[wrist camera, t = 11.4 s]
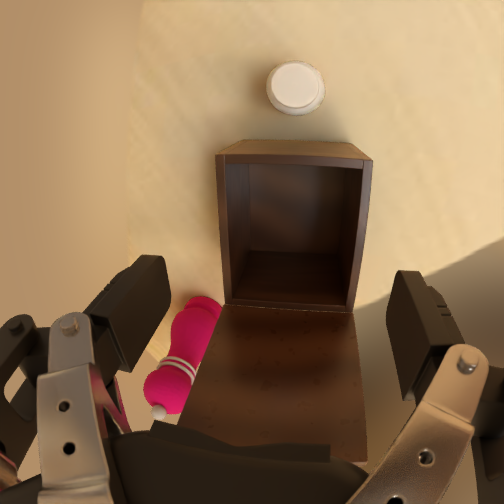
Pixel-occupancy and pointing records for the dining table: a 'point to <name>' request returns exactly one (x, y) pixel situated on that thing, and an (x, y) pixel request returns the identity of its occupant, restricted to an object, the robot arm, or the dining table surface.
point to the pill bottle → (295, 88)
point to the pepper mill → (181, 357)
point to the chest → (292, 223)
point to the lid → (281, 381)
